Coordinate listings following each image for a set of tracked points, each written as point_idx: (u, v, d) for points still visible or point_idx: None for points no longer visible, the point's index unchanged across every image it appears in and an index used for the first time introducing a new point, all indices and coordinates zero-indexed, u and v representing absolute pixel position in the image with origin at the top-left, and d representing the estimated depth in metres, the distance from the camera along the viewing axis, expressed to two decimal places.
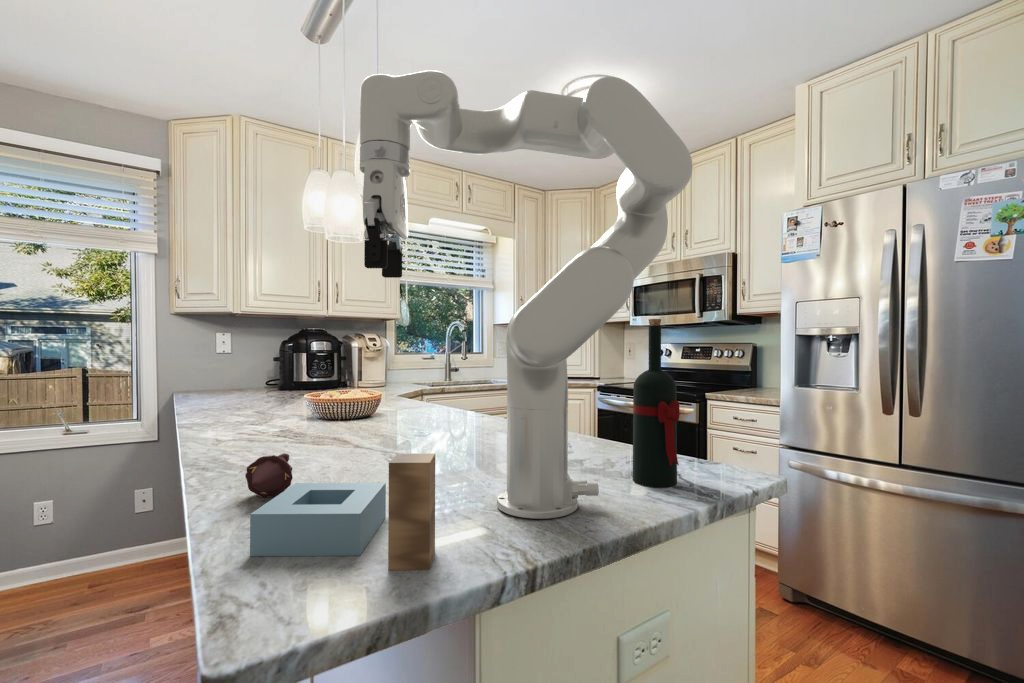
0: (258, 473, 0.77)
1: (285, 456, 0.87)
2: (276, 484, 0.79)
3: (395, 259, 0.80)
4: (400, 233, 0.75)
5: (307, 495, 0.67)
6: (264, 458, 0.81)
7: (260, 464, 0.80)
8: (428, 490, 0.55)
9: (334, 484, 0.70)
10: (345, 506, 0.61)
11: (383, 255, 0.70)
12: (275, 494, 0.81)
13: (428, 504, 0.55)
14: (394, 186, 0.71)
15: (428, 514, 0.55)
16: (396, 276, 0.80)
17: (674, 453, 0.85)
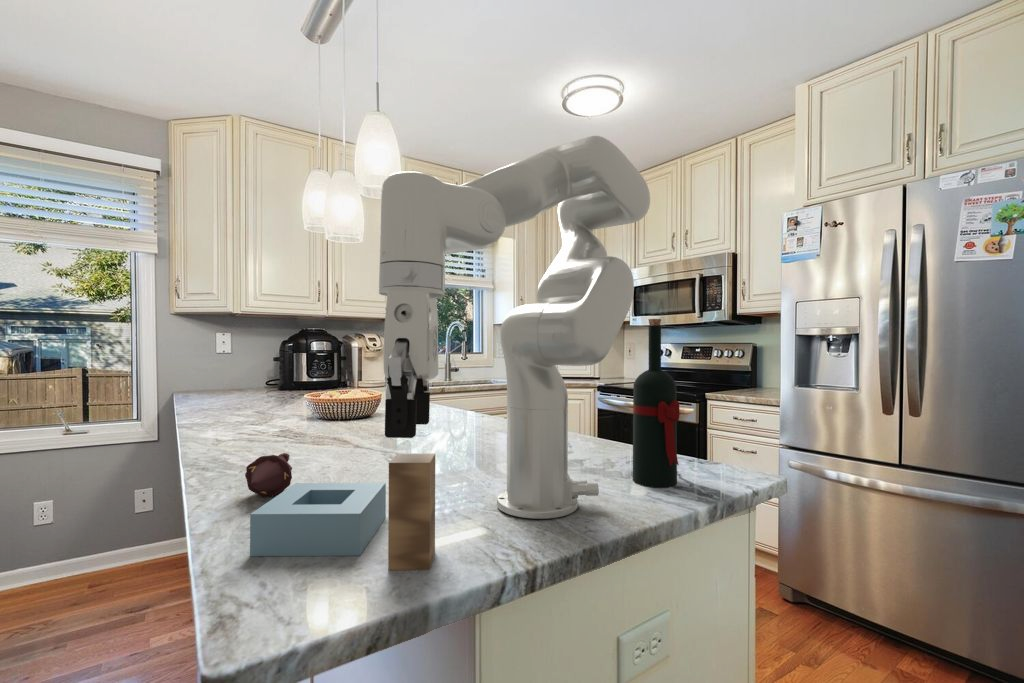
0: (257, 473, 0.77)
1: (285, 456, 0.87)
2: (275, 483, 0.80)
3: (421, 401, 0.61)
4: (431, 378, 0.56)
5: (307, 495, 0.67)
6: (264, 458, 0.81)
7: (260, 464, 0.81)
8: (428, 490, 0.55)
9: (334, 484, 0.70)
10: (345, 506, 0.61)
11: (410, 421, 0.52)
12: (274, 494, 0.81)
13: (428, 504, 0.55)
14: (427, 325, 0.53)
15: (428, 514, 0.55)
16: None
17: (674, 453, 0.85)
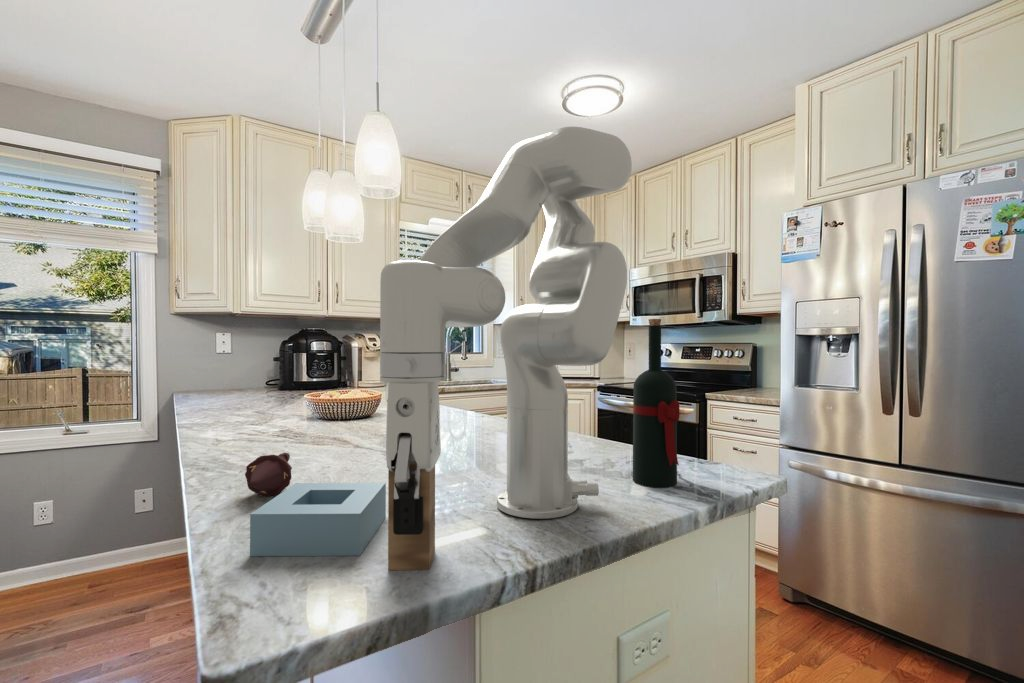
0: (257, 472, 0.78)
1: (285, 455, 0.87)
2: (275, 483, 0.80)
3: None
4: None
5: (307, 495, 0.67)
6: (263, 457, 0.82)
7: (259, 463, 0.81)
8: (428, 490, 0.55)
9: (334, 484, 0.70)
10: (345, 506, 0.61)
11: (418, 518, 0.54)
12: (274, 493, 0.81)
13: (428, 504, 0.55)
14: (429, 418, 0.53)
15: (428, 514, 0.55)
16: None
17: (674, 453, 0.85)
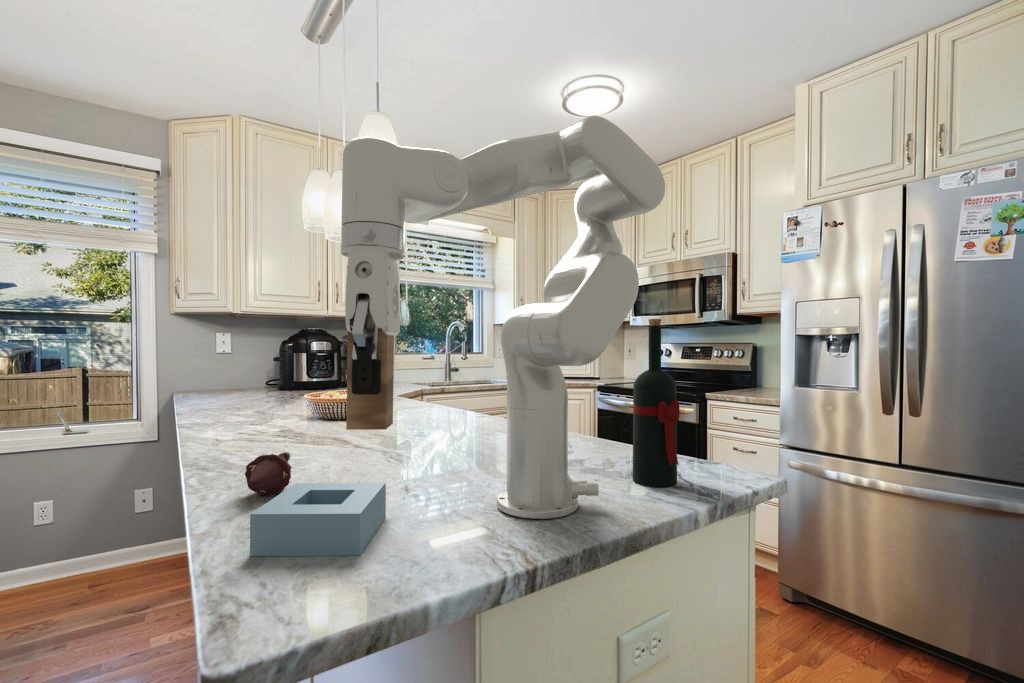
0: (256, 471, 0.78)
1: (285, 455, 0.88)
2: (274, 483, 0.80)
3: None
4: (392, 334, 0.60)
5: (307, 495, 0.67)
6: (263, 457, 0.82)
7: (259, 463, 0.81)
8: (385, 354, 0.58)
9: (334, 484, 0.70)
10: (345, 506, 0.61)
11: (375, 379, 0.57)
12: (273, 493, 0.82)
13: (385, 367, 0.58)
14: (386, 281, 0.56)
15: (385, 377, 0.58)
16: None
17: (674, 453, 0.85)
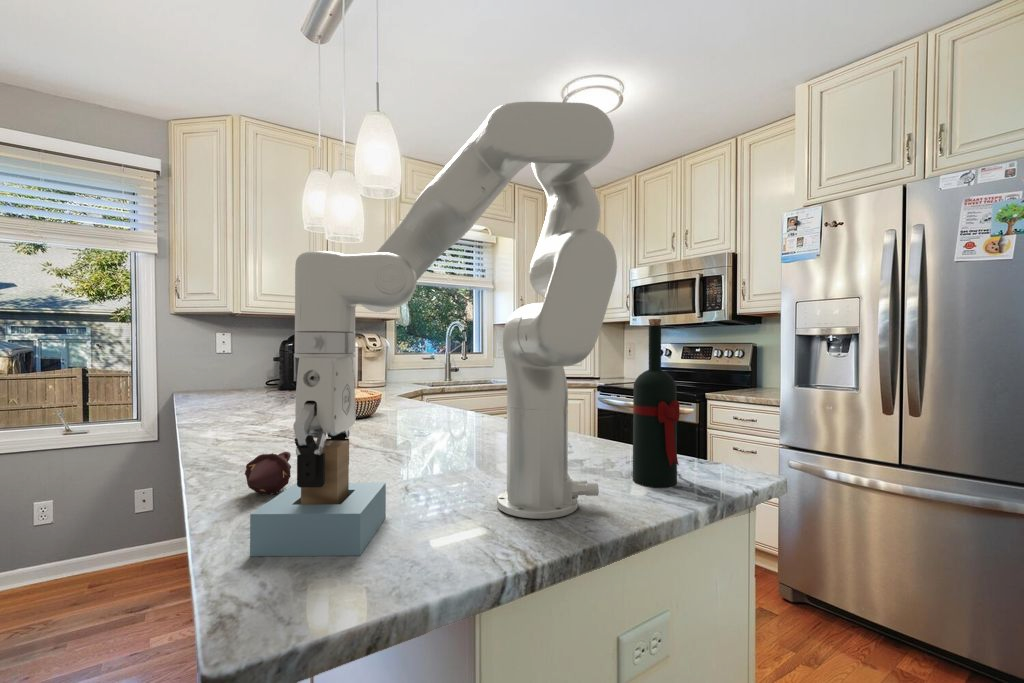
0: (255, 471, 0.78)
1: (285, 454, 0.88)
2: (273, 482, 0.81)
3: None
4: (343, 431, 0.64)
5: None
6: (263, 456, 0.82)
7: (259, 462, 0.82)
8: (336, 472, 0.63)
9: None
10: (345, 506, 0.61)
11: (319, 472, 0.60)
12: (273, 492, 0.82)
13: (336, 484, 0.63)
14: (333, 388, 0.61)
15: (336, 493, 0.63)
16: None
17: (674, 453, 0.85)
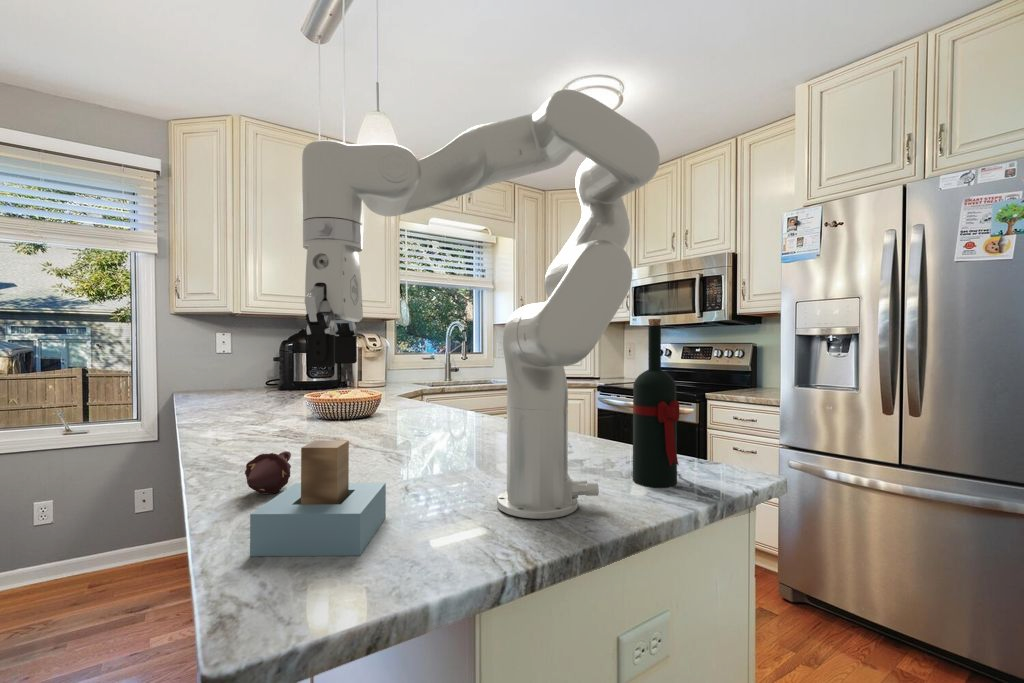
0: (254, 470, 0.79)
1: (286, 454, 0.88)
2: (273, 481, 0.81)
3: (348, 343, 0.71)
4: (351, 320, 0.66)
5: None
6: (263, 455, 0.83)
7: (259, 461, 0.82)
8: (335, 472, 0.63)
9: None
10: (345, 506, 0.61)
11: (329, 352, 0.61)
12: (272, 491, 0.82)
13: (335, 484, 0.63)
14: (342, 271, 0.62)
15: (335, 493, 0.63)
16: (350, 362, 0.71)
17: (674, 453, 0.85)
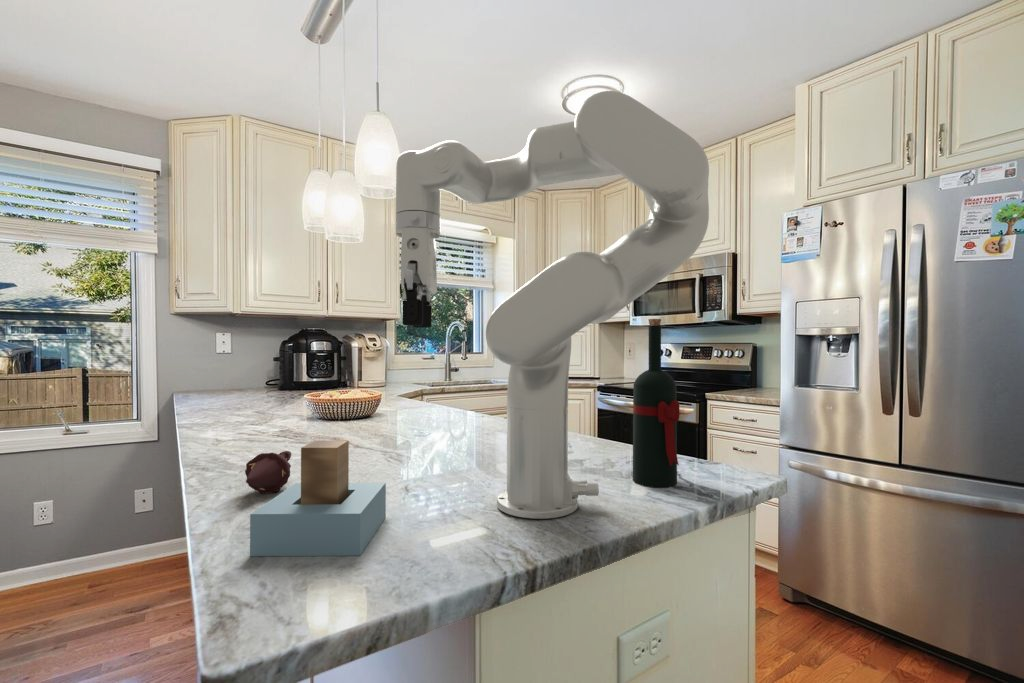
0: (254, 470, 0.79)
1: (286, 453, 0.89)
2: (272, 481, 0.81)
3: (425, 311, 0.89)
4: (432, 291, 0.84)
5: None
6: (263, 455, 0.83)
7: (258, 461, 0.83)
8: (335, 472, 0.63)
9: None
10: (345, 506, 0.61)
11: (419, 314, 0.79)
12: (272, 491, 0.83)
13: (335, 484, 0.63)
14: (429, 252, 0.80)
15: (335, 493, 0.63)
16: (426, 326, 0.89)
17: (674, 453, 0.85)
